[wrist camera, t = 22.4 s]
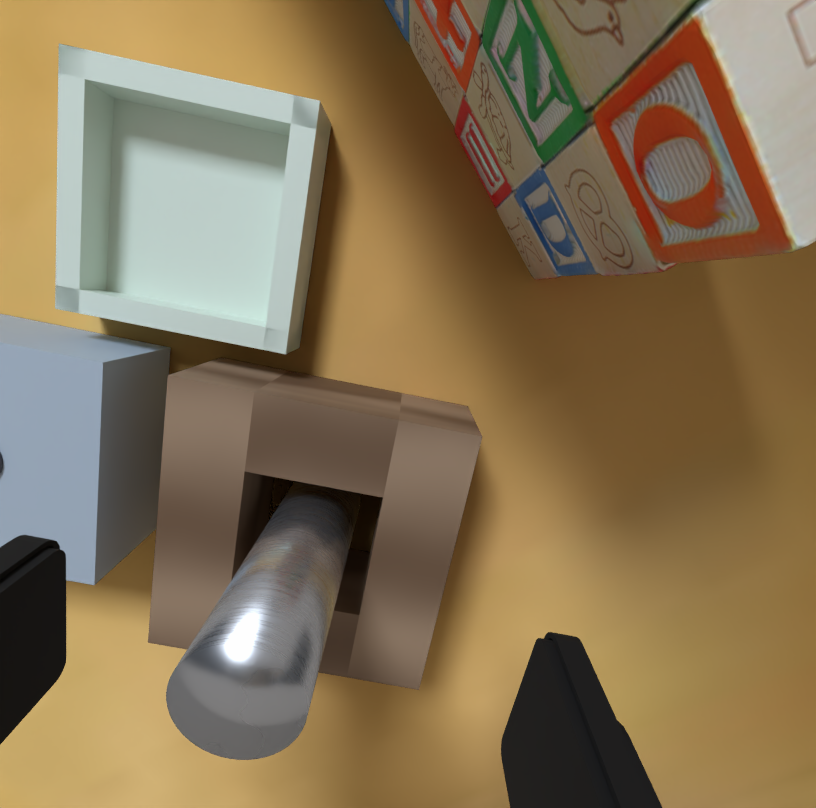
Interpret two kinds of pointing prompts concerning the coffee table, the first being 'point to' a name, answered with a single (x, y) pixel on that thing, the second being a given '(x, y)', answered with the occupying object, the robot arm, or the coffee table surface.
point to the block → (80, 441)
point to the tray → (186, 200)
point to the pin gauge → (267, 631)
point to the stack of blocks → (631, 124)
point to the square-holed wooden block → (320, 465)
